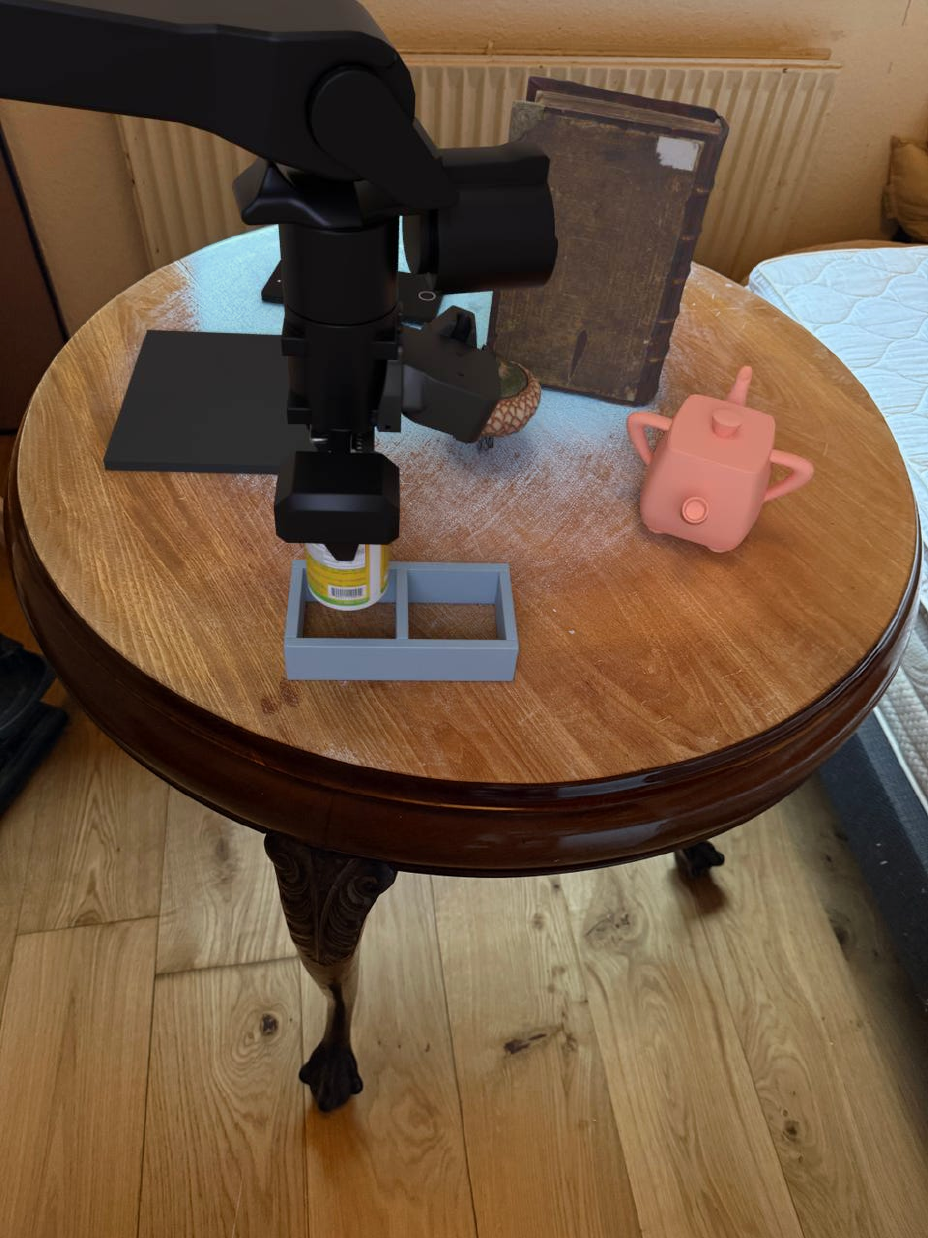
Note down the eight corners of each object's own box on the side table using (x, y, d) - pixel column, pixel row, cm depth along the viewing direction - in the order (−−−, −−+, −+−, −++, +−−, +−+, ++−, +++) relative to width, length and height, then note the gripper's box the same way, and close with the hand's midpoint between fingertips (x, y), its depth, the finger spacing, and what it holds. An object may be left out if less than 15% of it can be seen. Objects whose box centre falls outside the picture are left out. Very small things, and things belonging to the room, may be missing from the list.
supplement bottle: (353, 544, 64) (351, 429, 57) (405, 587, 62) (410, 472, 55) (290, 580, 61) (280, 464, 54) (342, 626, 59) (339, 510, 52)
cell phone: (432, 327, 94) (433, 319, 93) (259, 301, 95) (258, 293, 94) (446, 285, 100) (447, 277, 99) (284, 261, 101) (283, 253, 100)
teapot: (800, 565, 74) (848, 463, 66) (666, 588, 71) (700, 484, 64) (718, 456, 83) (752, 357, 76) (596, 473, 80) (619, 371, 73)
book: (662, 385, 90) (736, 108, 72) (648, 424, 85) (724, 140, 67) (499, 344, 93) (531, 68, 74) (477, 380, 88) (505, 95, 70)
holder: (286, 680, 62) (283, 646, 60) (295, 593, 68) (292, 559, 65) (513, 681, 64) (519, 648, 61) (503, 596, 69) (508, 563, 67)
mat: (105, 470, 75) (102, 460, 75) (148, 338, 89) (147, 329, 88) (339, 476, 77) (339, 466, 76) (347, 346, 91) (347, 337, 90)
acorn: (507, 415, 85) (520, 316, 77) (548, 469, 80) (566, 368, 72) (424, 432, 82) (429, 330, 75) (461, 489, 77) (470, 386, 70)
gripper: (516, 410, 41) (484, 642, 52) (487, 221, 53) (466, 441, 65) (260, 402, 40) (285, 640, 51) (292, 211, 52) (306, 436, 64)
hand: (346, 528), depth 58 cm, fingers closed on supplement bottle, 5 cm apart
